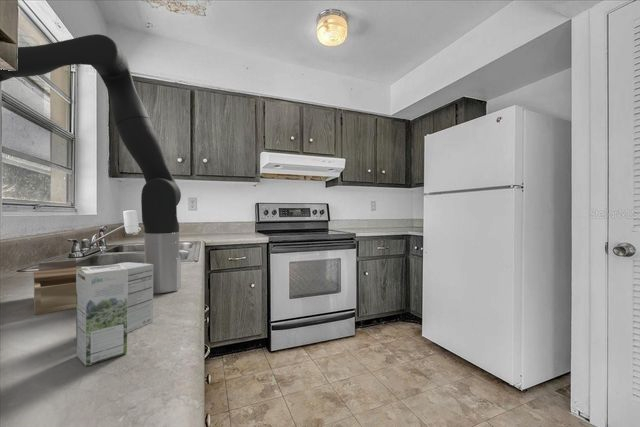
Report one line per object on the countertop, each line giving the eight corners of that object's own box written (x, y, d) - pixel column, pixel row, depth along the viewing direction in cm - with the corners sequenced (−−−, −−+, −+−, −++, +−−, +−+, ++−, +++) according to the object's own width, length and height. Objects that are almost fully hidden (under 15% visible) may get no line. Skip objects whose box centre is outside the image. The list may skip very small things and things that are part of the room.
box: (34, 303, 76) (33, 279, 76) (83, 295, 83) (83, 274, 83) (34, 314, 68) (34, 288, 68) (90, 305, 75) (89, 281, 75)
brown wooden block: (33, 273, 82) (33, 263, 82) (79, 268, 89) (79, 258, 89) (34, 282, 72) (34, 270, 72) (86, 276, 79) (86, 264, 79)
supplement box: (94, 331, 59) (93, 267, 59) (128, 318, 66) (127, 261, 66) (122, 335, 57) (122, 269, 56) (154, 321, 64) (154, 263, 64)
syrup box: (116, 344, 53) (116, 262, 53) (128, 354, 49) (128, 266, 49) (75, 356, 49) (75, 267, 48) (85, 368, 45) (84, 272, 45)
